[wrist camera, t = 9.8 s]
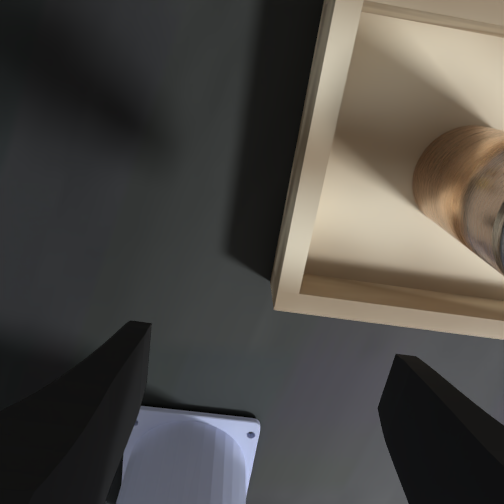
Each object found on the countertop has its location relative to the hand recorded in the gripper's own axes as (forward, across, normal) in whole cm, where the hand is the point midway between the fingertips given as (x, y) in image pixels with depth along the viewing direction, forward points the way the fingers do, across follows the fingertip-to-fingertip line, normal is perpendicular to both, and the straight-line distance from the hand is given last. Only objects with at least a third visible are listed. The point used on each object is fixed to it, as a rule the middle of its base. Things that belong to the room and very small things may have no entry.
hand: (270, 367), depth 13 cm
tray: (+10, -9, -5) cm, 15 cm away
